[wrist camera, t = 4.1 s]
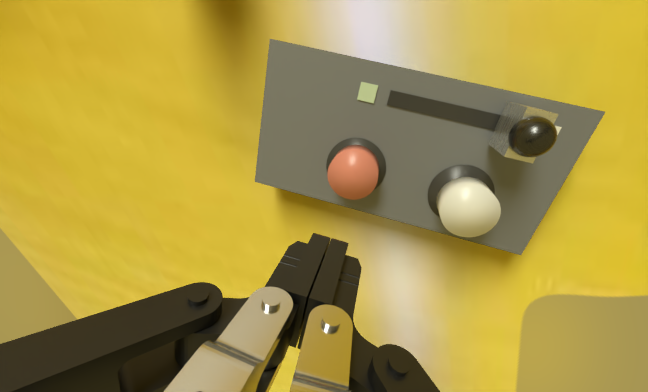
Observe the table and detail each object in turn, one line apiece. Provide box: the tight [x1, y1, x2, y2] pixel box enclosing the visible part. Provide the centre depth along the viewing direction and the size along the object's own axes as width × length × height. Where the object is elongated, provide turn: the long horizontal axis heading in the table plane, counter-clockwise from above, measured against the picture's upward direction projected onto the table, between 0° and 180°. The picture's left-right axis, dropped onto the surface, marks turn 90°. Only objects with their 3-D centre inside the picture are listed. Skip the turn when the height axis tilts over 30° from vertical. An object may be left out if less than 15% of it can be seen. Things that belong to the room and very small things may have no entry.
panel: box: [255, 39, 605, 255], centre depth 24 cm, size 22×11×4 cm, turn 78°
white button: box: [436, 177, 501, 237], centre depth 20 cm, size 4×4×2 cm
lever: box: [488, 101, 559, 164], centre depth 17 cm, size 2×3×4 cm
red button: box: [327, 145, 379, 200], centre depth 22 cm, size 4×4×2 cm
